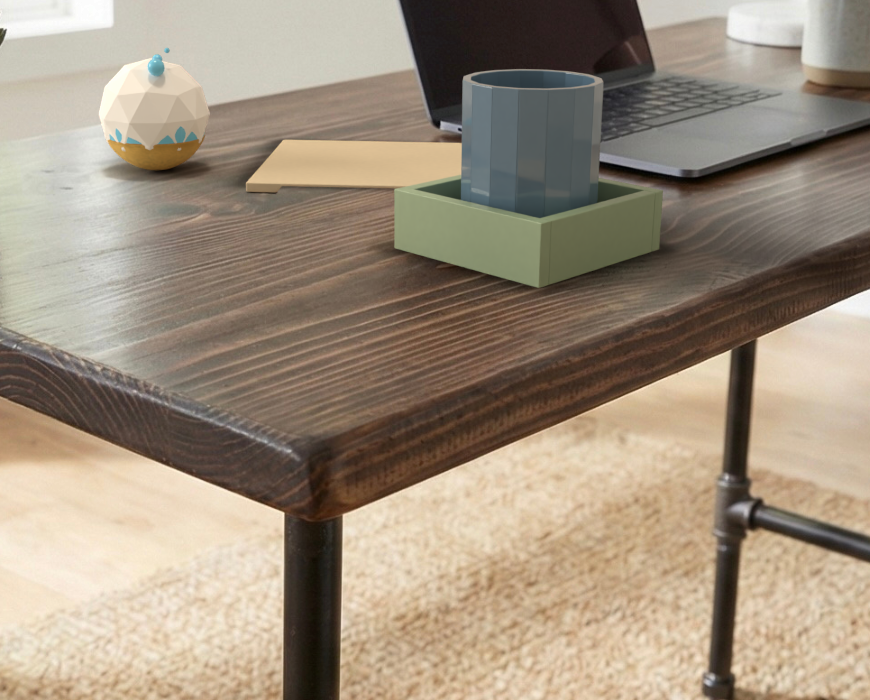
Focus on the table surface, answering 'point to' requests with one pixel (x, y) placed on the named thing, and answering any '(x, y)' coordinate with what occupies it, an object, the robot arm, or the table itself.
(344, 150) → the wooden board
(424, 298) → the table surface
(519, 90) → the cup
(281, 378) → the table surface
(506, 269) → the open square box
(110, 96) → the ornament
